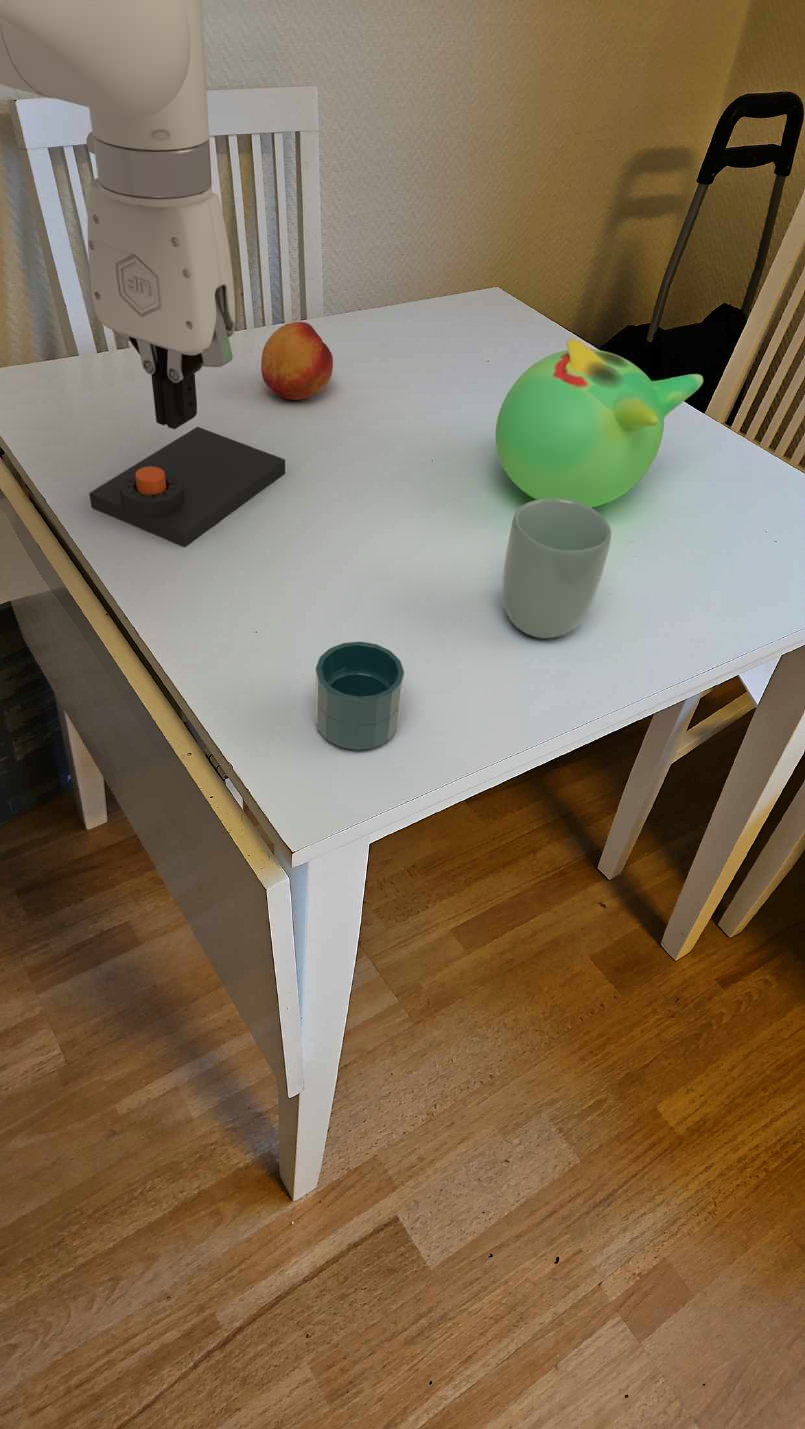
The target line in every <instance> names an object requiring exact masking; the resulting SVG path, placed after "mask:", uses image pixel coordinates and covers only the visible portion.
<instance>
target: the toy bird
mask: <svg viewBox="0 0 805 1429" xmlns="http://www.w3.org/2000/svg"><path fill="white" fill-rule="evenodd" d="M566 347H567V349H566V350H562V351H558V352H555V353H552V354H549V355H547V356H545V357H543V358H541V359H540V360H538V361H537V362H535V363H534V364H532V365H531V366H530V367H528V368H527V369H525V371H524V372H523V373H522V374H521V375H520V376H519V377H518V378H517V379H516V381H514V383H513V385H512V386H511V388H510V389H509V390H508V392H507V393H506V396H505V398H504V399H503V402H502V403H501V406H500V409H499V411H498V415H497V420H496V423H495V424H496V425H495V447H496V452H497V456H498V460H499V462H500V465H501V466H502V468H503V470H504V472H505V473H506V475H507V476H508V477H509V479H510V480H511V481H512V482H513V483H514V484H515V485H516V487H518V488H519V489H520V491H522V492H524V493H525V494H526V495H527V496H529V497H531V498H533V499H534V500H538V499H545V498H564V499H569V500H574V501H577V502H580V503H583V504H585V505H587V506H589V507H591V508H596V507H599V506H603V505H605V504H609V503H610V502H613V501H615V500H616V499H618V498H620V497H622V496H623V495H624V494H626V493H628V491H630V490H631V489H632V488H633V487H634V486H636V484H637V483H639V481H640V480H642V478H643V477H644V476H645V474H646V473H647V472H648V470H649V469H650V467H651V466H652V464H653V462H654V460H655V458H656V456H657V454H658V453H659V449H660V447H661V443H662V440H663V436H664V430H665V418H666V417H667V415H669V414H670V413H671V412H672V411H673V410H675V409H676V408H677V407H679V406H680V405H681V404H682V403H684V402H685V401H686V400H687V399H688V398H690V397H691V396H692V395H694V394H695V393H696V392H697V391H698V390H699V389H700V388H701V387H702V385H703V383H704V377H703V375H701V374H699V373H692V374H685V375H679V376H674V377H670V378H665V379H660V380H659V379H658V380H651V379H650V378H649V376H648V375H647V374H646V373H645V372H644V371H643V370H642V369H641V368H640V367H639V366H637V365H636V364H634V363H633V362H631V361H630V360H628V359H627V358H624V357H622V356H620V355H618V354H615V353H613V352H609V351H604V350H600V349H594V348H593V349H592V348H590V347H589V346H587V345H586V344H584V343H583V342H581V341H579V340H577V339H574V338H570V339H568V340H567V342H566Z"/></svg>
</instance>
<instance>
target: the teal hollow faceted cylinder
mask: <svg viewBox="0 0 805 1429" xmlns="http://www.w3.org/2000/svg"><path fill="white" fill-rule="evenodd" d="M404 677H405V670H404V668H403V664H402V661H401V660H400V659H399V658H398V657H397V656H396V655H395V653H393V652H392V650H390V649H387V647H383V646H381V645H379V644H377V643H372V642H365V641H351V642H343V643H340V644H338V645H335V646H332V647H330V648H328V649H327V650H326V651H325V652H324V653H323V654H321V655H320V656H319V658H318V661H317V663H316V666H315V686H314V689H315V690H314V691H315V692H314V720H315V725H316V729H317V731H318V732H319V733H320V734H321V735H322V736H323V738H324V739H325V740H326V741H328V742H330V743H332V744H333V745H336V746H338V747H340V748H344V749H346V750H353V751H364V750H369V749H374V748H376V747H378V746H381V745H383V744H385V743H387V742H388V741H389V740H390V739H391V738H392V737H393V735H395V734H396V733H397V730H398V727H399V722H400V714H401V705H402V697H403V687H404V679H405V678H404Z"/></svg>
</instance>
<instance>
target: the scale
mask: <svg viewBox="0 0 805 1429" xmlns="http://www.w3.org/2000/svg"><path fill="white" fill-rule="evenodd" d="M143 467H158V468H160V469H162V470H163V471H164V473H165V480H166V490H165V491H164V492H162V493H159V494H154V495H149V494H142V493H139V492H138V490H137V484H136V476H135V474H136V472H137V471H138V470H139V469H141V468H143ZM285 474H286V459H285V458H282V457H280V456H277V455H275V454H271V453H268V452H266V451H263V450H260V449H258V448H256V447H253V446H250V445H248V444H246V443H242V442H240V441H237V440H234V439H231V438H229V437H227V436H224V435H221V434H218V433H217V432H213V431H210V430H208V429H205V428H202V427H199V426H196V427H195V428H193V429H191V430H190V431H188V432H186V433H185V434H183V435H181V436H180V437H178V438H176V439H174V440H173V441H171V442H170V443H168V444H167V445H165V446H163V447H162V448H160V449H158V450H157V451H155V452H154V453H152V454H151V455H149V456H147V457H145V458H144V459H142V460H140V461H139V462H137V463H135V464H134V465H132V466H130V467H129V468H127V469H126V470H124V471H123V472H121V473H119V474H118V475H116V476H114V477H113V478H111V479H109V480H108V481H106V482H104V483H103V484H102V485H100V486H98V487H97V488H95V489H93V490H92V491H90V492H89V493H88V496H89V500H90V507H91V508H92V509H94V510H96V511H99V512H101V513H104V514H106V515H108V516H111V517H113V518H115V519H117V520H120V521H123V522H125V523H127V524H130V525H132V526H134V527H137V528H139V529H141V530H144V531H145V532H148V533H151V534H153V535H156V536H158V537H160V538H162V539H165V540H167V541H170V542H172V543H175V544H176V545H178V546H182V547H184V548H185V547H188V545H190V544H191V543H192V542H193V541H195V540H196V539H198V538H199V537H201V536H202V535H203V534H205V533H206V532H208V531H209V530H210V529H212V528H213V527H214V526H216V525H217V524H218V523H220V522H221V521H222V520H224V519H225V518H227V517H228V516H229V515H231V514H232V513H233V512H235V511H236V510H238V509H239V508H240V507H242V506H243V505H244V504H246V503H247V502H248V501H250V500H251V499H252V498H253V497H256V495H258V494H259V493H260V492H262V491H263V490H265V489H266V488H267V487H269V486H270V485H271V484H273V483H275V482H276V481H277V480H278V479H280V478H281V477H283V476H284V475H285Z"/></svg>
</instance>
